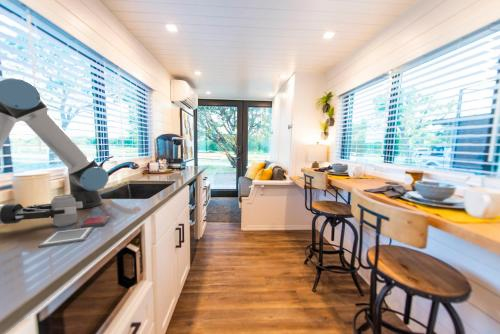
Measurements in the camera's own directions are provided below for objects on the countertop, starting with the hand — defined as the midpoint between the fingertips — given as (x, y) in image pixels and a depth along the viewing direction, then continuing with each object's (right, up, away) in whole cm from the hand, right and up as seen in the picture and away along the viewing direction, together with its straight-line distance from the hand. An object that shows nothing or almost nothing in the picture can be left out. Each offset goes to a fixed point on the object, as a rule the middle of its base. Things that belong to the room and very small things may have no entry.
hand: (78, 207), depth 90 cm
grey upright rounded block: (-4, -7, -1) cm, 8 cm away
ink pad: (+8, -7, 0) cm, 10 cm away
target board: (+7, -8, -14) cm, 17 cm away
